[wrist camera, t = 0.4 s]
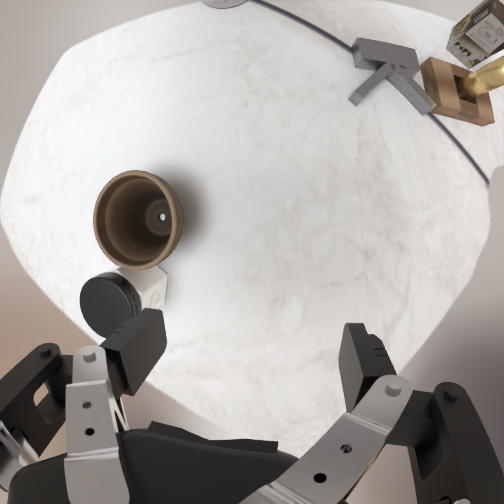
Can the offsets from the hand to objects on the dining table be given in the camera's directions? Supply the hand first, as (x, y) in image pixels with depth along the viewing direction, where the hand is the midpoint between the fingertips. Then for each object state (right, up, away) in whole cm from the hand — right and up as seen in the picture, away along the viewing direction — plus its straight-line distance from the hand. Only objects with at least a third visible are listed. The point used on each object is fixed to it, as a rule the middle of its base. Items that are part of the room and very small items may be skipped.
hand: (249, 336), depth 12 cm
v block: (+21, +30, +22) cm, 43 cm away
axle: (+35, +30, +21) cm, 51 cm away
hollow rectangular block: (+35, +30, +21) cm, 51 cm away
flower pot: (-13, +9, +28) cm, 32 cm away
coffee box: (+41, +43, +18) cm, 62 cm away
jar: (-17, -1, +30) cm, 34 cm away
